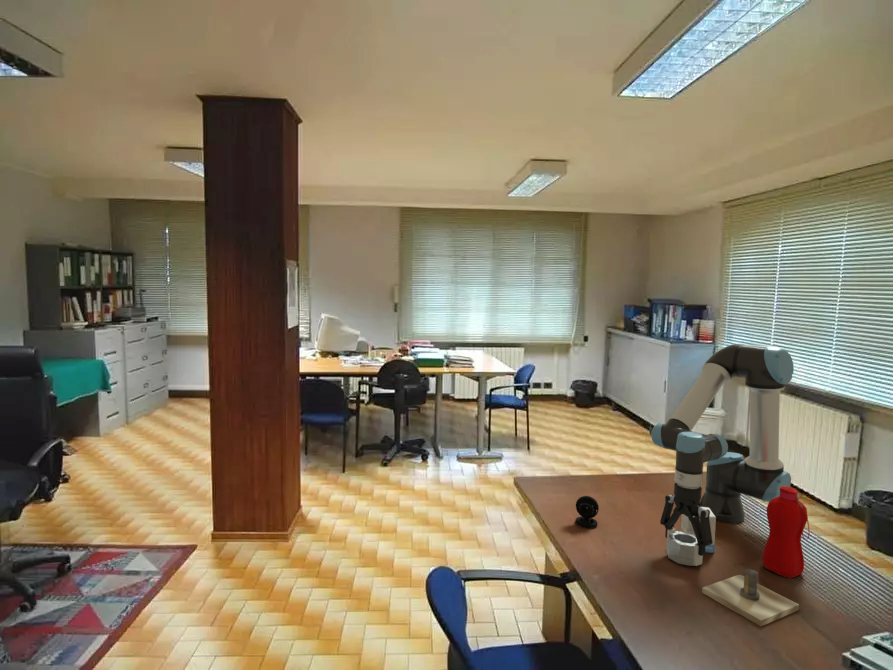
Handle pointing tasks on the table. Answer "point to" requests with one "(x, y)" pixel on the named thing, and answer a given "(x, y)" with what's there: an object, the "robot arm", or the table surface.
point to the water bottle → (785, 534)
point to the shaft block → (750, 598)
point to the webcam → (587, 512)
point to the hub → (681, 547)
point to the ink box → (687, 525)
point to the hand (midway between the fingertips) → (683, 556)
